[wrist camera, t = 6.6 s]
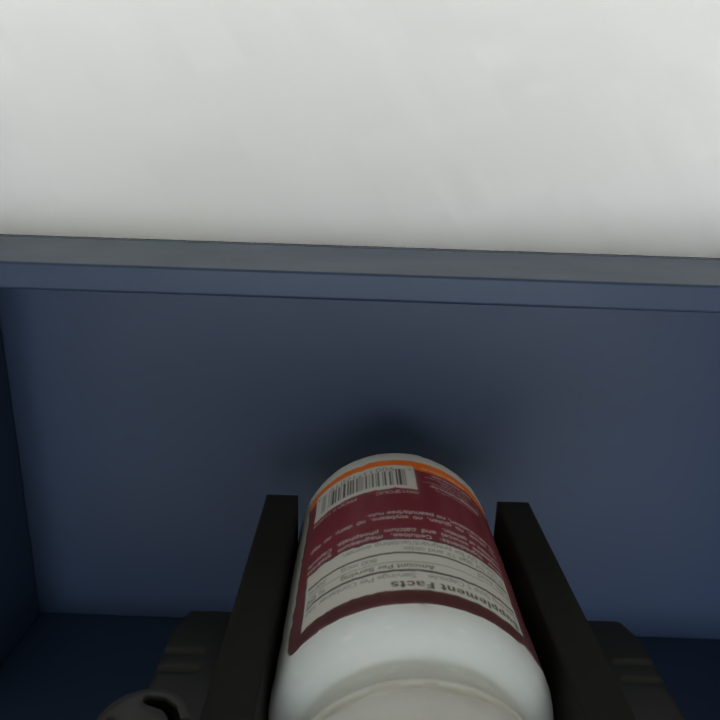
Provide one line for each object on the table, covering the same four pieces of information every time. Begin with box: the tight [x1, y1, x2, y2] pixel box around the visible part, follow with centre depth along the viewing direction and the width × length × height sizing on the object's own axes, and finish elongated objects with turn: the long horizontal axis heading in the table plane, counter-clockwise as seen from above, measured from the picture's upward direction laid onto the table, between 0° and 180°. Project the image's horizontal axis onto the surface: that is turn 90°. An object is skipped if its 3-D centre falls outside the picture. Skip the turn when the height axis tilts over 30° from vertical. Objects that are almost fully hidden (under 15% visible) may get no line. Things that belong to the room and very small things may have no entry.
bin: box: [0, 234, 720, 720], centre depth 18 cm, size 25×13×5 cm, turn 88°
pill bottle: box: [268, 453, 554, 720], centre depth 12 cm, size 5×5×8 cm
